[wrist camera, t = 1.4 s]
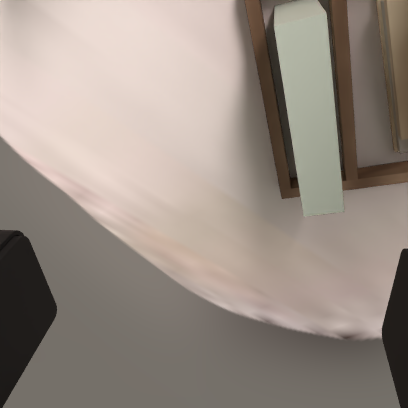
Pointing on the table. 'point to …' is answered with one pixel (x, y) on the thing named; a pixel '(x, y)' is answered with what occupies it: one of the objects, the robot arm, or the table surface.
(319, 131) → the pale green rectangular block
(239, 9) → the table surface
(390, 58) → the offcut stack
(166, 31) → the table surface
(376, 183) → the rack
